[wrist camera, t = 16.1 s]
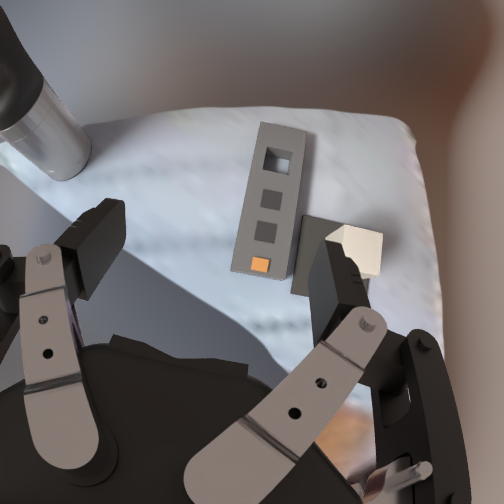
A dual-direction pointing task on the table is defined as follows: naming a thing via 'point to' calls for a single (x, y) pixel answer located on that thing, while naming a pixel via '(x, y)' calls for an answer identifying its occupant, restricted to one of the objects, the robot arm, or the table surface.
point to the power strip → (270, 205)
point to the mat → (311, 251)
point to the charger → (360, 248)
